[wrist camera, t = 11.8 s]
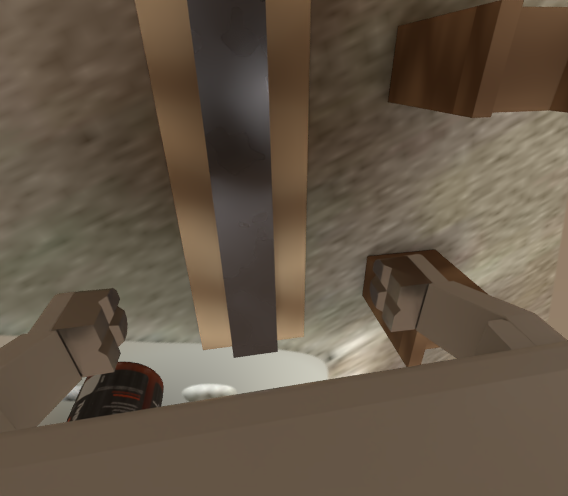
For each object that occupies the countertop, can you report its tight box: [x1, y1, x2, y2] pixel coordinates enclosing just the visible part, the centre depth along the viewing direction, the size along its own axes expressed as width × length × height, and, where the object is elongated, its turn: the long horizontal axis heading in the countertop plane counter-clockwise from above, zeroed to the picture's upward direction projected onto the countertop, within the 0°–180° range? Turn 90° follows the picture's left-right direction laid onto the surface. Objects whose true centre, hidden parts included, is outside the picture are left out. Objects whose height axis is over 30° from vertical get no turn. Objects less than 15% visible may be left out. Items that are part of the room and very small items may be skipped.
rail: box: [187, 0, 278, 358], centre depth 18 cm, size 20×3×3 cm, turn 1°
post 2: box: [362, 250, 488, 367], centre depth 22 cm, size 4×5×7 cm, turn 91°
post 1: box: [388, 0, 568, 118], centre depth 15 cm, size 4×5×7 cm, turn 91°
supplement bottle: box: [67, 362, 163, 422], centre depth 21 cm, size 6×6×11 cm
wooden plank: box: [135, 0, 311, 350], centre depth 20 cm, size 24×8×1 cm, turn 1°
